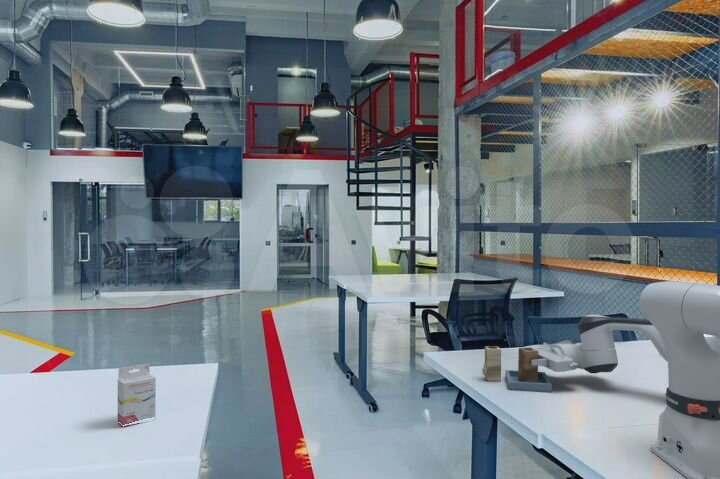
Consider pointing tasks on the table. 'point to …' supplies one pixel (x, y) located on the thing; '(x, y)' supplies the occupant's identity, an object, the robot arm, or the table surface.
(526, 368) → the walnut block
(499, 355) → the oak block
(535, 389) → the tray
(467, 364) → the table surface
